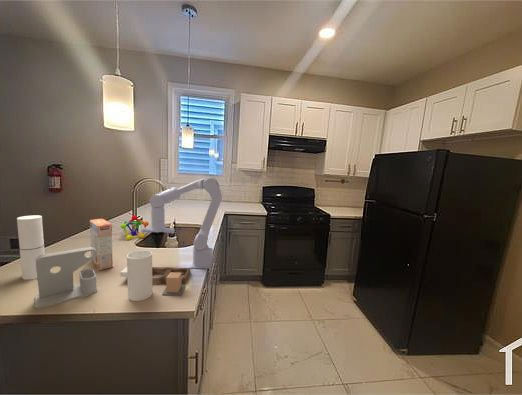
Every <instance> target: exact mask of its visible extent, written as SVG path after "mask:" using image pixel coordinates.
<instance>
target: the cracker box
mask: <svg viewBox="0 0 522 395" xmlns="http://www.w3.org/2000/svg"><path fill="white" fill-rule="evenodd" d="M89 235H90V237H89V238H90V247H94V248H95V249H96V252H97V256H96V257H95V258H94V259H93V260H91V261H90V262H91V263H92V264H93V265H94V266H95V268H96V269H97V270H98V271H102V270H106V269H111V268H113V266H114V265H113V227H112V223H110V222H109V221H107V220H106V219H104V218H97V219H96V218H95V219H90V220H89ZM93 253H94V252H92V251H90V255H92V254H93Z"/></svg>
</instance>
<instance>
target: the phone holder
mask: <svg viewBox="0 0 522 395" xmlns="http://www.w3.org/2000/svg"><path fill="white" fill-rule="evenodd" d="M91 251H92V252H94V253H93V254H92V255H91V254H90V255H85V254H86V253H88V252H91ZM96 256H97V252H96V249H95V248H94V247H91V246H87V247H80V248H74V249H68V250H62V251H55V252H48V253H45V254H42V255H40V256H38V257H37V258H36V270H37V278H36V279H37V286H38V294H36V295H35V299H34V308H35V309H36V308H39V309H43V308H46V307H45V306H47V307H50V306H54V305H57V303H58V304H60V302H61V303H65V302H68V300H69V301H72V300H75V299H79V298H83V297H87V296H90V295H93V294H96V293H97V292H98V288H97V287H98V286H97V275H96V273H95V270H94V269H93V268H85V269H83V270H80V271H79V283H78V284H74V272H75V271H77V270H78V269H81V268H82V267H83V266H85V265H86V264H89V262H92V261H91V260H93V259H94V258H95V257H96ZM54 267H55V268H56V267H59V268H60V270H58V271H57V272H52V271H51V269H53V268H54ZM64 301H65V302H64ZM53 304H54V305H53ZM49 305H50V306H49ZM42 307H43V308H42Z"/></svg>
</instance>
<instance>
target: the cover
mask: <svg viewBox="0 0 522 395" xmlns="http://www.w3.org/2000/svg"><path fill="white" fill-rule="evenodd" d="M119 274H120V278H127V266H125V267H124V268H123V269H122V270H121V271H120V273H119Z"/></svg>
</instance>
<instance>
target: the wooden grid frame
mask: <svg viewBox="0 0 522 395" xmlns="http://www.w3.org/2000/svg"><path fill="white" fill-rule="evenodd" d="M191 271H192V268H191V267H167V266H166V267H164V266H162V267H161V266H160V267H159V266H158V267H157V266H155V267H154V266H152V285H153V284H155V285H160V284H161V285H162V284H163V285H166V277H167V276H168V275H169V273H170V272H180V273H182V275H183V276H182V280H181V285H186V283H187V280H189V277H190V275H191ZM153 275H154V276H153ZM158 275H160V276H158Z"/></svg>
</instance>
